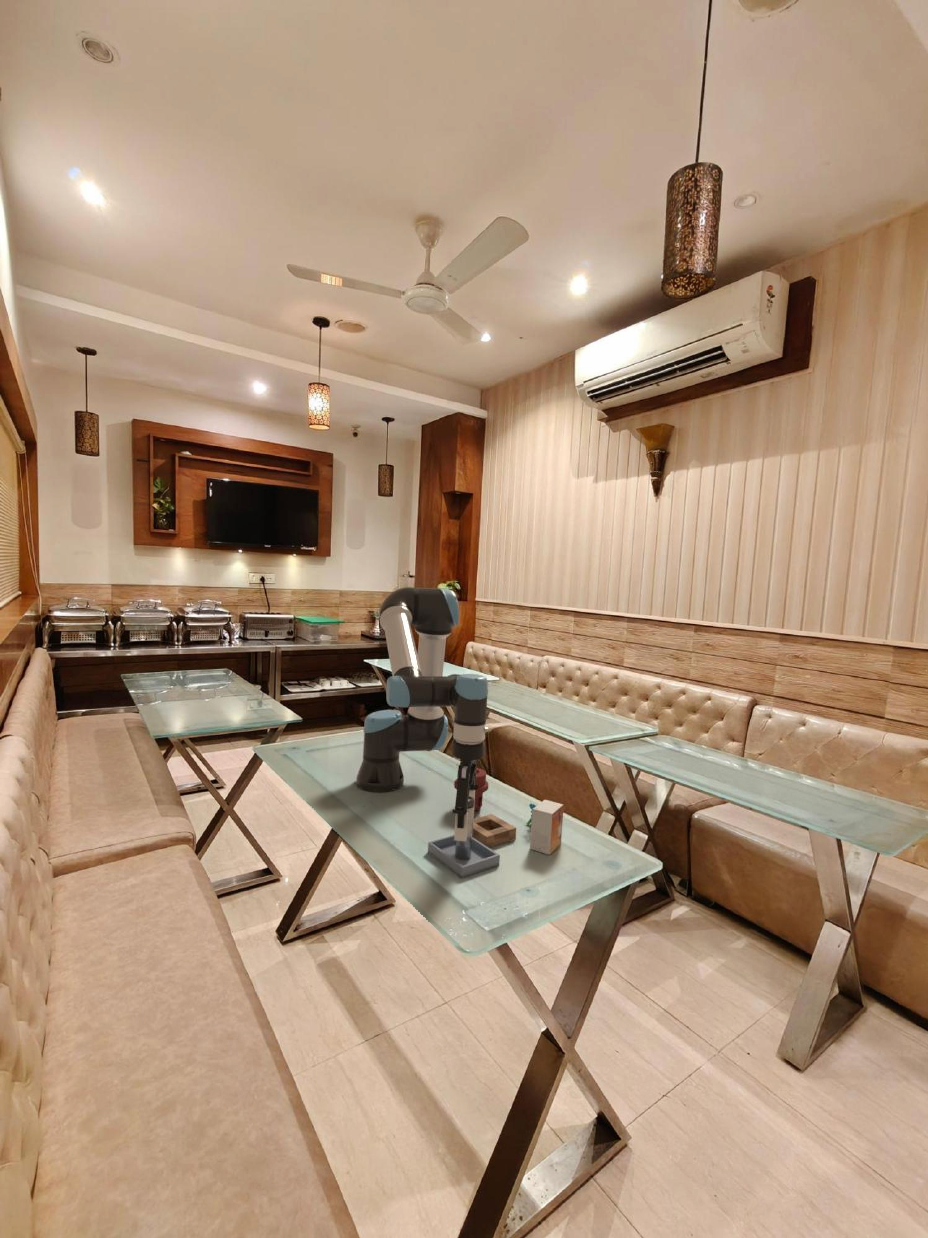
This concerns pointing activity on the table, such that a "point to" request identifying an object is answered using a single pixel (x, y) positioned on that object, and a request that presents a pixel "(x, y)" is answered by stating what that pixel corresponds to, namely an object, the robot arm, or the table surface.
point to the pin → (465, 848)
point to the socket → (492, 830)
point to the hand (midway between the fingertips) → (464, 827)
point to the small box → (546, 826)
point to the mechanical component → (481, 787)
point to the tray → (463, 868)
